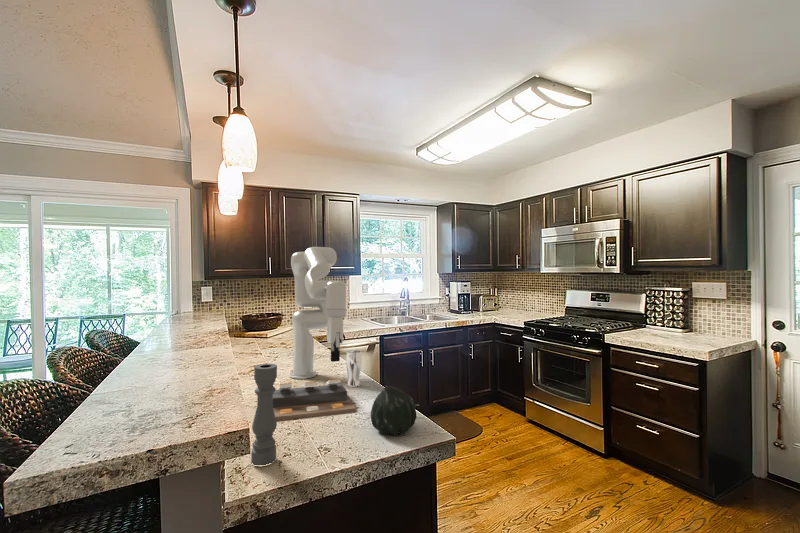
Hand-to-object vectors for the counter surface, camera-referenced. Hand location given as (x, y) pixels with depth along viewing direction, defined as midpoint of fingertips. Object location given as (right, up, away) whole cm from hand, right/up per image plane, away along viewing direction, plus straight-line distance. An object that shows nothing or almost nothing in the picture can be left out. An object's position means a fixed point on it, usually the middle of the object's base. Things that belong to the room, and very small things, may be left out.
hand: (335, 360), depth 142 cm
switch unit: (-9, -16, -3) cm, 19 cm away
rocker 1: (-18, -9, -3) cm, 20 cm away
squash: (+23, -16, -24) cm, 37 cm away
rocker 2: (-10, -9, 0) cm, 13 cm away
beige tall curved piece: (+4, -17, +23) cm, 29 cm away
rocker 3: (-1, -9, +3) cm, 10 cm away
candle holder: (-11, -15, -44) cm, 48 cm away
